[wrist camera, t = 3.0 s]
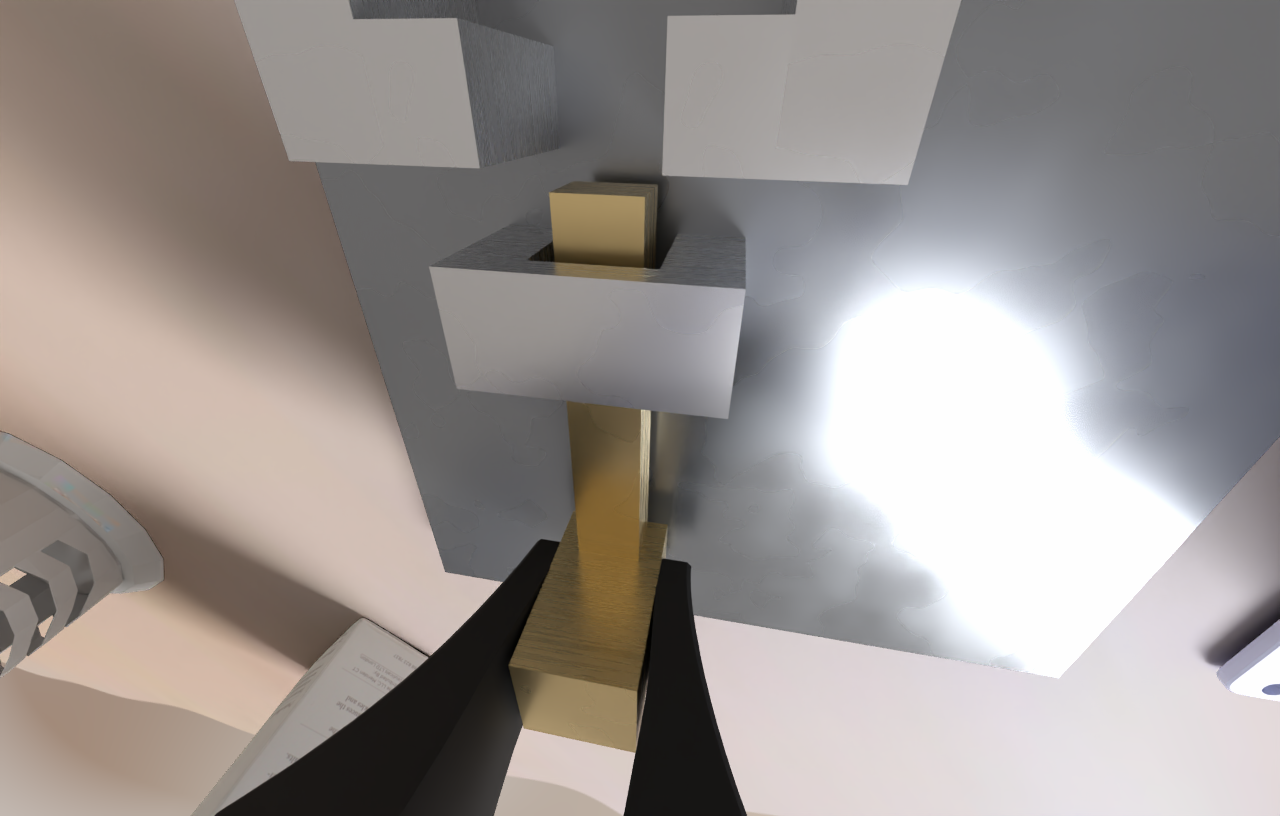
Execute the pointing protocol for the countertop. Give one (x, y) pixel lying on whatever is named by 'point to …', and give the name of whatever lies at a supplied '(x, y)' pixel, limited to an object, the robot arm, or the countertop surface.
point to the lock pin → (598, 519)
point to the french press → (61, 547)
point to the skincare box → (318, 707)
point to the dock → (820, 285)
